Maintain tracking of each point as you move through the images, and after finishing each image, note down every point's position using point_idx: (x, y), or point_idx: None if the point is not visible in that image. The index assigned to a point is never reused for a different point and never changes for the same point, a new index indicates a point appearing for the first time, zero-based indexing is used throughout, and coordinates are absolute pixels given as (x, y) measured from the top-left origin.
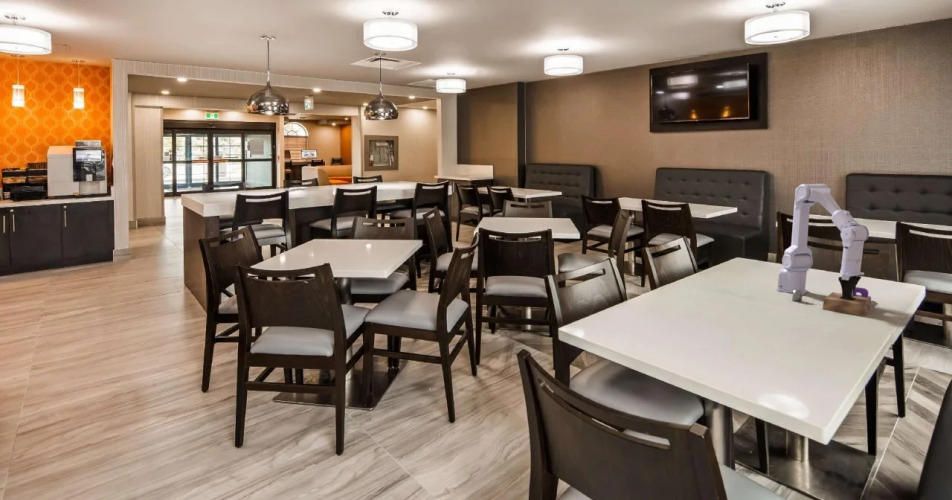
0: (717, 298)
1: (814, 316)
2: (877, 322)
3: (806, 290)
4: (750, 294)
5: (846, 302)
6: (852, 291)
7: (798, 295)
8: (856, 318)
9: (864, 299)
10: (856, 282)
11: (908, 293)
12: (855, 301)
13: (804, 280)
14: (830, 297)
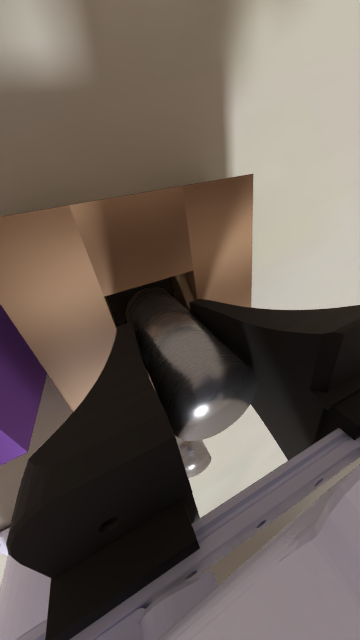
0: (281, 459)
1: (316, 296)
2: (282, 65)
3: (6, 535)
4: (208, 485)
5: (248, 275)
6: (183, 321)
7: (201, 440)
8: (269, 188)
9: (90, 239)
10: (149, 384)
11: None
12: (207, 251)
13: (39, 590)
14: None
